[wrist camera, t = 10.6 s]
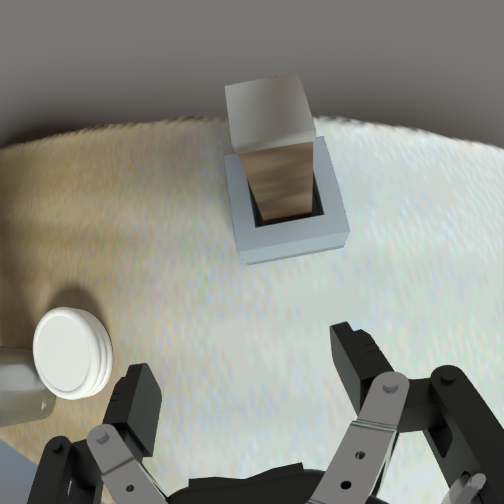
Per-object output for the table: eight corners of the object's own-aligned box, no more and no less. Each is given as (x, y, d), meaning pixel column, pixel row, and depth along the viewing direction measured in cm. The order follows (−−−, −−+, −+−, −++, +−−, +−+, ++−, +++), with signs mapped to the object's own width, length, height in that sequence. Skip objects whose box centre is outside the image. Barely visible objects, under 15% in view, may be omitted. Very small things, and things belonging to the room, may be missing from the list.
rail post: (267, 233, 30) (231, 144, 15) (260, 192, 31) (224, 86, 16) (312, 226, 29) (315, 129, 15) (304, 185, 30) (298, 73, 16)
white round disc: (108, 303, 32) (89, 299, 29) (122, 395, 29) (104, 400, 26) (46, 314, 33) (27, 312, 30) (57, 395, 30) (37, 398, 27)
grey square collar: (248, 265, 30) (237, 252, 26) (235, 179, 33) (223, 155, 28) (343, 247, 29) (350, 231, 25) (321, 163, 32) (323, 136, 27)
